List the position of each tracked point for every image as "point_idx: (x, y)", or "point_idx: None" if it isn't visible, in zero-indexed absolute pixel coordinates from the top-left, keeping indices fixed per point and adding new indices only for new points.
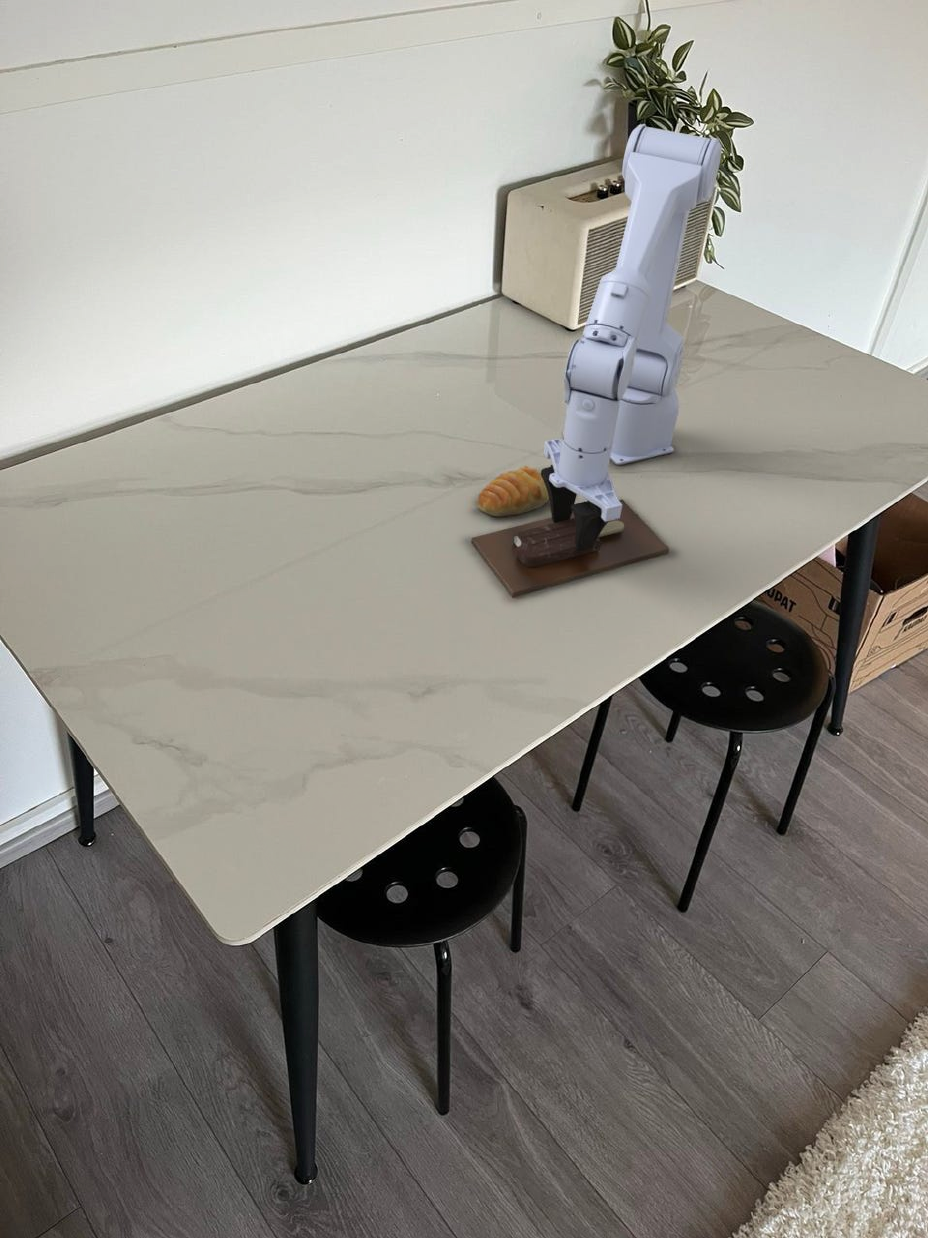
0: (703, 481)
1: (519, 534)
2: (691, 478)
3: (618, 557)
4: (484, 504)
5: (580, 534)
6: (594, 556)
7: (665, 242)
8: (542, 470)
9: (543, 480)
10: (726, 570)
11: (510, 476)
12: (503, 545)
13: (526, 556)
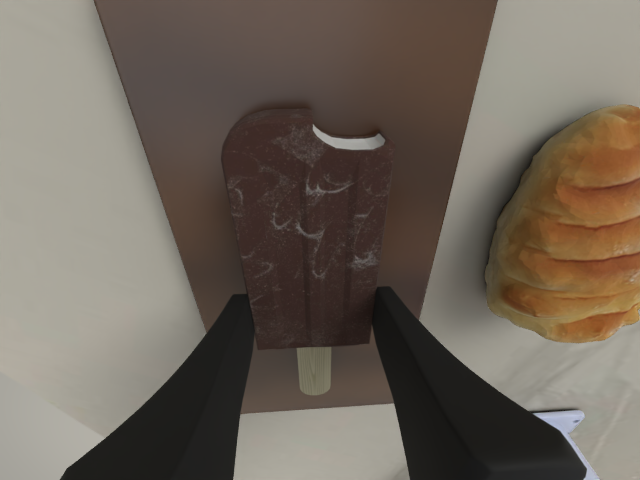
0: (380, 469)
1: (376, 161)
2: (394, 463)
3: None
4: (619, 120)
5: (190, 355)
6: None
7: None
8: (578, 471)
9: (518, 405)
10: None
11: None
12: (390, 91)
13: (239, 125)
